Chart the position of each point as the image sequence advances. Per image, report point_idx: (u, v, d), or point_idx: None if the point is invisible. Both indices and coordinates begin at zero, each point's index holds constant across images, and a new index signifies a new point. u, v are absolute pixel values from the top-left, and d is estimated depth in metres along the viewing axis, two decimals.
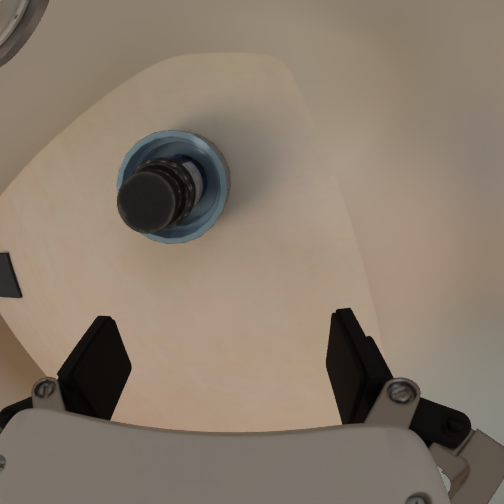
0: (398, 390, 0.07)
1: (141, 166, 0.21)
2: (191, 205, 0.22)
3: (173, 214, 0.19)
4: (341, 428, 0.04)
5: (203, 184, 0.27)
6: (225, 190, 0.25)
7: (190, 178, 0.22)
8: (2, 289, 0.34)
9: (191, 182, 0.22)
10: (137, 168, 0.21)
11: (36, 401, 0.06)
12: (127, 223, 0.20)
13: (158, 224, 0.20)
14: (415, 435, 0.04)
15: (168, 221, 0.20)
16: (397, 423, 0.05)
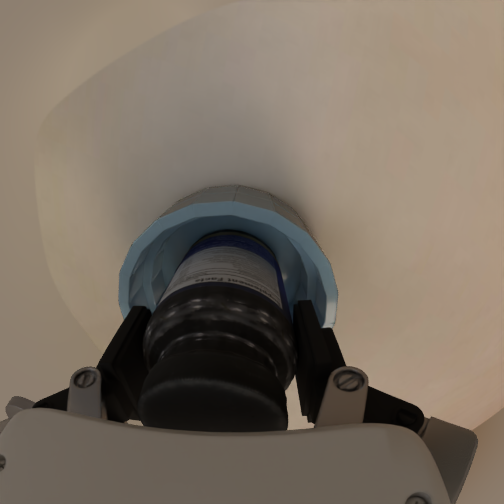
0: (344, 379, 0.07)
1: None
2: (242, 302, 0.09)
3: (240, 386, 0.07)
4: (341, 428, 0.04)
5: (225, 243, 0.14)
6: (228, 204, 0.11)
7: (179, 297, 0.09)
8: None
9: (186, 297, 0.09)
10: None
11: (77, 391, 0.07)
12: None
13: (265, 413, 0.07)
14: (415, 435, 0.04)
15: (258, 397, 0.07)
16: (338, 409, 0.06)
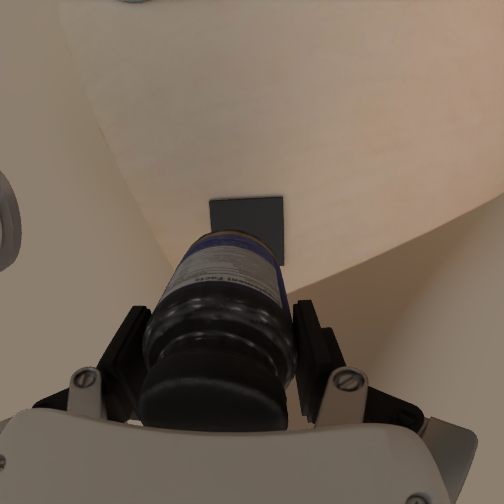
0: (344, 379, 0.07)
1: None
2: (242, 301, 0.09)
3: (240, 385, 0.07)
4: (341, 428, 0.04)
5: (225, 242, 0.14)
6: None
7: (179, 297, 0.09)
8: (270, 242, 0.32)
9: (186, 297, 0.09)
10: None
11: (77, 391, 0.07)
12: None
13: (265, 412, 0.07)
14: (415, 435, 0.04)
15: (258, 396, 0.07)
16: (338, 409, 0.06)
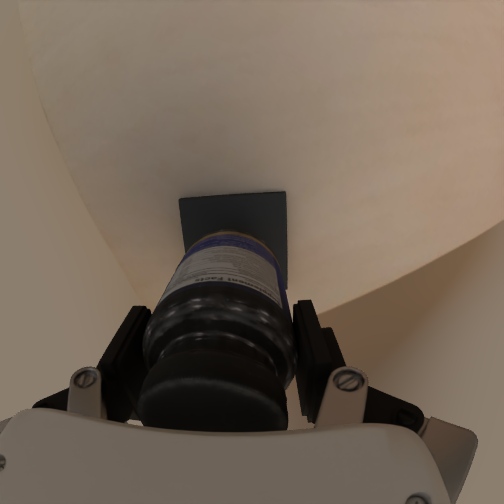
0: (344, 379, 0.07)
1: None
2: (242, 301, 0.09)
3: (240, 385, 0.07)
4: (341, 428, 0.04)
5: (225, 242, 0.14)
6: None
7: (179, 297, 0.09)
8: None
9: (186, 297, 0.09)
10: None
11: (77, 391, 0.07)
12: None
13: (265, 413, 0.07)
14: (415, 435, 0.04)
15: (258, 397, 0.07)
16: (338, 409, 0.06)
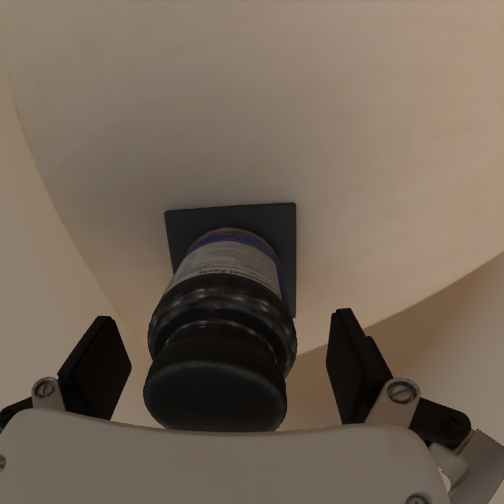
0: (398, 390, 0.07)
1: None
2: (243, 291, 0.10)
3: (242, 368, 0.07)
4: (341, 428, 0.04)
5: (227, 238, 0.14)
6: None
7: (184, 288, 0.10)
8: None
9: (191, 288, 0.10)
10: None
11: (36, 401, 0.06)
12: None
13: (265, 396, 0.08)
14: (415, 435, 0.04)
15: (259, 379, 0.07)
16: (397, 423, 0.05)
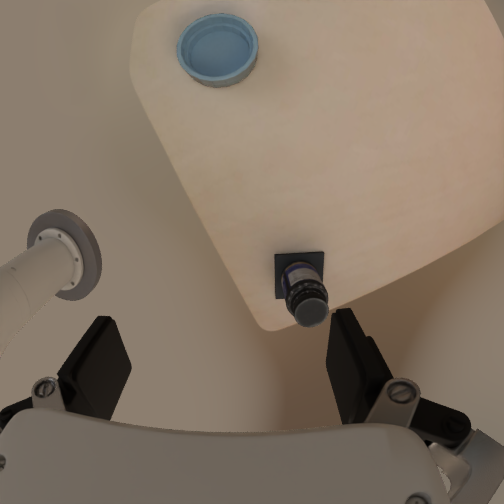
0: (398, 390, 0.07)
1: (290, 310, 0.39)
2: (316, 283, 0.38)
3: (320, 299, 0.36)
4: (341, 428, 0.04)
5: (303, 267, 0.43)
6: (220, 13, 0.28)
7: (300, 283, 0.38)
8: None
9: (302, 283, 0.38)
10: (290, 312, 0.39)
11: (36, 401, 0.06)
12: (321, 322, 0.37)
13: (324, 307, 0.36)
14: (415, 435, 0.04)
15: (323, 302, 0.36)
16: (397, 423, 0.05)
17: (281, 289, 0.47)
